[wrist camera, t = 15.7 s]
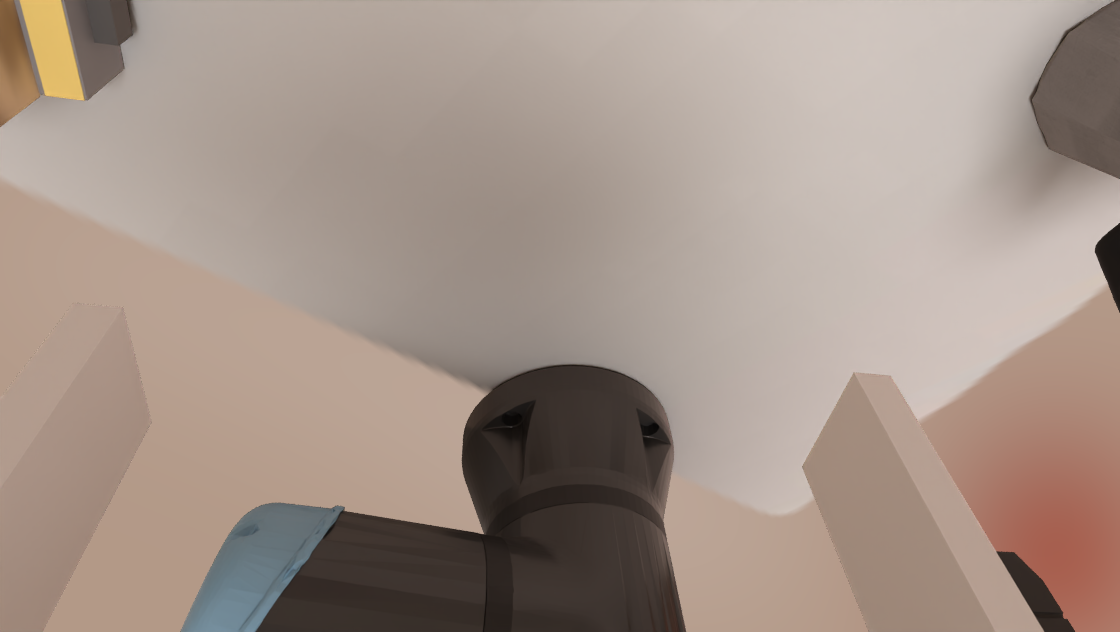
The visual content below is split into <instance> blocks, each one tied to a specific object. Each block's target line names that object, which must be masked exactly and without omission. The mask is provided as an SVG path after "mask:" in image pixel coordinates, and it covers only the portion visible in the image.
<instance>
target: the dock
mask: <svg viewBox="0 0 1120 632" xmlns="http://www.w3.org/2000/svg"><path fill="white" fill-rule="evenodd" d="M14 2H15V6H16V10H17V13H18V17H19V20H20V24H21V28H22V31H23V35H24V39H25V42H26V46H27V49H28V53H29V57H30V60H31V64H32V68H33V71H34V75H35V78H36V82H37V86H38V89H39V93H40V94H41V95H45V96H52V97H60V98H68V99H76V100H84V101H85V100H89V99H90V98H91V97H92V96H93V95H94V94H96V93H97V92H98V91H99V90H100V89H101V88H102V87H104V86H105V85H106V84H107V83H108V82H109V81H111V80H112V79H113V78H114V77H115V76H116V75H118V74H119V73H120V72H121V71H122V70H123V69H124V64H123V59H122V54H121V49H120V44H122V43H123V42H124V41H125V40H127V39H128V38H129V37H131V36H132V35H133V32H132V27H131V22H130V16H129V11H128V5H127V0H14Z"/></svg>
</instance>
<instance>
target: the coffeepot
mask: <svg viewBox="0 0 1120 632" xmlns="http://www.w3.org/2000/svg"><path fill="white" fill-rule="evenodd" d="M1032 103H1033V106H1034V109H1035V113H1036V118H1037V123H1038V125H1039V127H1040V128H1041V130H1042V132H1043V134H1044V137H1045V139H1046V142H1047V145H1048V148H1049V149H1051V150H1053V151H1055V152H1058V153H1060V154H1062V155H1065V156H1067V157H1069V158H1072V159H1074V160H1076V161H1079V162H1081V163H1084V164H1086V165H1088V166H1091V167H1093V168H1095V169H1098V170H1100V171H1102V172H1105V173H1107V174H1109V175H1112V176H1114V177H1116V178H1119V179H1120V0H1116V1H1114V2H1112V3H1111V4H1109V5H1107V6H1105V7H1103V8H1101V9H1100V10H1099V11H1097V12H1096V13H1094V14H1093V15H1091V16H1090V17H1089V18H1087V19H1086V20H1085V21H1083V22H1082V23H1081V24H1080V25H1079V26H1078V27H1077V28H1075V29H1074V30H1072V31H1071V32H1069V33H1068V34H1067V36H1066V37H1065V39H1064V40H1063V41H1062V43H1061V44H1060V45H1059V47H1058V48H1057V50H1056V51H1055V53H1054V54H1053V56H1052V57H1051V59H1050V61H1049V62H1048V64H1047V65H1046V67H1045V70H1044V72H1043V74H1042V76H1041V79H1040V81H1039V84H1038V88H1037V92H1036V94H1035V95H1034V97H1033V99H1032ZM1095 253H1096V256H1097V258H1098V261H1099V263H1100V266H1101V268H1102V271H1103V273H1104V276H1105V278H1106V280H1107V282H1108V285H1109V288H1110V290H1111V293H1112V295H1113V298H1114V301H1115V303H1116V305H1117V307H1118V310H1119V312H1120V223H1119V224H1118V225H1117V226H1115V227H1114V228H1113V229H1112V230H1110V231H1109V232H1108V233H1107V234H1106V235H1105V236H1103V237H1102V238H1101V240H1100V241H1099V242H1098V243H1097V245H1096V247H1095Z"/></svg>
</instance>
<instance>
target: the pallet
mask: <svg viewBox="0 0 1120 632" xmlns="http://www.w3.org/2000/svg"><path fill="white" fill-rule="evenodd" d="M39 97H40V93H39V89H38V86H37V82H36V78H35V75H34V71H33V68H32V64H31V60H30V57H29V53H28V49H27V46H26V42H25V39H24V35H23V31H22V28H21V24H20V20H19V17H18V13H17V10H16V6H15V2H14V0H0V127H1V126H2V125H4V124H5V123H6V122H8V121H9V120H10V119H11V118H13V117H14V116H15V115H17V114H18V113H19V112H21V111H22V110H23V109H24V108H26V107H27V106H28V105H30V104H31V103H32V102H34V101H35V100H36V99H38V98H39Z"/></svg>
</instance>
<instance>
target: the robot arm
mask: <svg viewBox="0 0 1120 632" xmlns="http://www.w3.org/2000/svg"><path fill="white" fill-rule="evenodd" d="M150 424H151V418H150V414H149V410H148V406H147V402H146V398H145V394H144V390H143V386H142V381H141V377H140V373H139V369H138V365H137V361H136V357H135V354H134V350H133V346H132V341H131V338H130V334H129V329H128V326H127V321H126V317H125V314H124V309H123V307H113V306H102V305H91V304H80V303H73V304H72V305H71V307H70V308H69V309H68V311H67V312H66V313H65V314H64V316H63V317H62V318H61V320H60V321H59V322H58V323H57V325H56V326H55V327H54V329H53V330H52V331H51V333H50V334H49V335H48V336H47V338H46V339H45V340H44V342H43V343H42V344H41V346H40V347H39V348H38V350H37V351H36V352H35V353H34V355H33V356H32V357H31V359H30V360H29V361H28V363H27V364H26V365H25V366H24V368H23V369H22V370H21V372H20V373H19V374H18V376H17V377H16V378H15V380H14V381H13V382H12V383H11V385H10V386H9V387H8V389H7V390H6V391H5V393H4V394H3V395H2V397H1V398H0V632H43V630H44V628H45V626H46V624H47V622H48V620H49V618H50V617H51V615H52V613H53V611H54V609H55V607H56V605H57V603H58V601H59V599H60V597H61V595H62V594H63V591H64V590H65V588H66V586H67V584H68V582H69V580H70V578H71V576H72V574H73V572H74V570H75V569H76V566H77V565H78V562H79V561H80V559H81V557H82V555H83V553H84V551H85V549H86V547H87V545H88V543H89V542H90V540H91V537H92V536H93V534H94V532H95V530H96V528H97V526H98V524H99V522H100V520H101V519H102V516H103V515H104V513H105V511H106V509H107V507H108V505H109V503H110V501H111V499H112V497H113V495H114V494H115V492H116V490H117V488H118V486H119V484H120V482H121V480H122V478H123V476H124V474H125V472H126V470H127V469H128V467H129V465H130V463H131V461H132V459H133V457H134V455H135V453H136V451H137V449H138V447H139V446H140V444H141V442H142V440H143V438H144V436H145V434H146V432H147V430H148V428H149V426H150ZM673 460H674V446H673V440H672V436H671V431H670V427H669V423H668V418H667V416H666V413H665V411H664V409H663V407H662V405H661V404H660V402H659V401H658V400H657V398H656V397H655V396H654V395H653V394H652V393H651V392H650V391H649V390H647V389H646V388H645V387H644V386H642V385H641V384H639V383H638V382H636V381H634V380H632V379H630V378H628V377H626V376H624V375H621V374H618V373H615V372H612V371H609V370H604V369H600V368H594V367H584V366H562V367H552V368H546V369H541V370H537V371H533V372H530V373H526V374H524V375H521V376H518V377H516V378H514V379H511V380H509V381H507V382H505V383H504V384H502V385H500V386H499V387H497V388H496V389H494V390H493V391H492V392H490V393H489V394H488V395H487V396H486V397H484V398H483V399H482V400H481V402H480V403H479V404H478V405H477V406H476V407H475V409H474V410H473V412H472V413H471V415H470V417H469V419H468V421H467V423H466V426H465V430H464V435H463V450H462V468H463V474H464V478H465V481H466V484H467V487H468V490H469V493H470V495H471V498H472V501H473V504H474V507H475V510H476V513H477V515H478V518H479V521H480V524H481V527H482V529H483V532H484V534H479V533H474V532H468V531H462V530H456V529H450V528H443V527H438V526H432V525H425V524H419V523H413V522H407V521H401V520H395V519H389V518H383V517H377V516H371V515H365V514H358V513H353V512H346V511H344V508H345V507H342V506H335V507H333V508H332V509H329V508H321V507H312V506H303V505H295V504H285V503H269V504H265V505H261V506H259V507H256V508H255V509H253V510H251V511H250V512H248V513H247V514H246V515H244V516H243V517H242V518H241V520H240V521H239V522H238V523H237V524H236V525H235V527H234V528H233V529H232V531H231V532H230V534H229V535H228V537H227V539H226V540H225V542H224V544H223V545H222V547H221V549H220V551H219V553H218V554H217V556H216V558H215V560H214V562H213V564H212V566H211V568H210V570H209V572H208V574H207V576H206V577H205V580H204V582H203V584H202V586H201V588H200V590H199V592H198V594H197V597H196V598H195V601H194V603H193V605H192V607H191V609H190V612H189V613H188V616H187V618H186V620H185V622H184V625H183V627H182V629H181V631H180V632H686V629H685V624H684V620H683V615H682V610H681V605H680V600H679V595H678V591H677V586H676V581H675V577H674V571H673V567H672V562H671V557H670V552H669V547H668V543H667V538H666V533H665V528H664V522H663V518H664V512H665V506H666V501H667V495H668V489H669V483H670V478H671V472H672V467H673ZM802 468H803V470H804V473H805V475H806V478H807V480H808V483H809V485H810V488H811V490H812V493H813V495H814V497H815V500H816V502H817V505H818V507H819V510H820V512H821V515H822V517H823V520H824V522H825V524H826V527H827V529H828V532H829V535H830V537H831V540H832V542H833V544H834V547H835V549H836V552H837V554H838V557H839V559H840V562H841V564H842V567H843V569H844V572H845V574H846V577H847V579H848V581H849V584H850V587H851V589H852V591H853V594H854V596H855V599H856V601H857V604H858V606H859V609H860V611H861V614H862V616H863V619H864V621H865V624H866V626H867V628H868V631H869V632H1075V630H1074V629H1073V627H1072V626H1071V624H1070V623H1069V621H1068V619H1064V618H1063V612H1062V610H1061V609H1060V607H1059V605H1058V604H1057V602H1056V601H1055V599H1054V598H1053V596H1052V594H1051V593H1050V591H1049V590H1048V588H1047V586H1046V585H1045V583H1044V582H1043V580H1042V579H1041V578H1039V576H1038V575H1037V574H1036V573H1035V572H1034V571H1032V570H1031V569H1030V568H1029V567H1028V566H1027V565H1026V564H1025V563H1024V562H1023V561H1022V560H1021V559H1020V558H1019V557H1018V556H1017V555H1016V554H1015V553H1014V552H997V551H995V549H994V547H993V546H992V544H991V542H990V541H989V539H988V537H987V536H986V534H985V532H984V531H983V529H982V527H981V526H980V524H979V522H978V521H977V519H976V517H975V516H974V514H973V512H972V511H971V509H970V507H969V506H968V504H967V502H966V501H965V499H964V497H963V496H962V494H961V492H960V491H959V489H958V487H957V486H956V484H955V482H954V481H953V479H952V477H951V476H950V474H949V472H948V471H947V469H946V467H945V466H944V464H943V462H942V461H941V459H940V457H939V456H938V454H937V453H936V451H935V449H934V447H933V446H932V444H931V442H930V441H929V439H928V437H927V436H926V434H925V433H924V431H923V429H922V427H921V426H920V424H919V422H918V421H917V419H916V417H915V416H914V414H913V412H912V411H911V409H910V407H909V406H908V404H907V402H906V401H905V399H904V397H903V396H902V394H901V392H900V391H899V389H898V387H897V386H896V384H895V382H894V381H893V379H892V377H891V376H887V375H876V374H865V373H853V375H852V377H851V379H850V381H849V382H848V384H847V386H846V388H845V390H844V391H843V393H842V395H841V397H840V399H839V401H838V402H837V404H836V406H835V408H834V410H833V411H832V413H831V415H830V417H829V419H828V421H827V422H826V424H825V426H824V428H823V430H822V431H821V433H820V435H819V437H818V439H817V441H816V442H815V444H814V446H813V448H812V450H811V451H810V453H809V455H808V457H807V459H806V461H805V462H804V464H803V466H802Z"/></svg>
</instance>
